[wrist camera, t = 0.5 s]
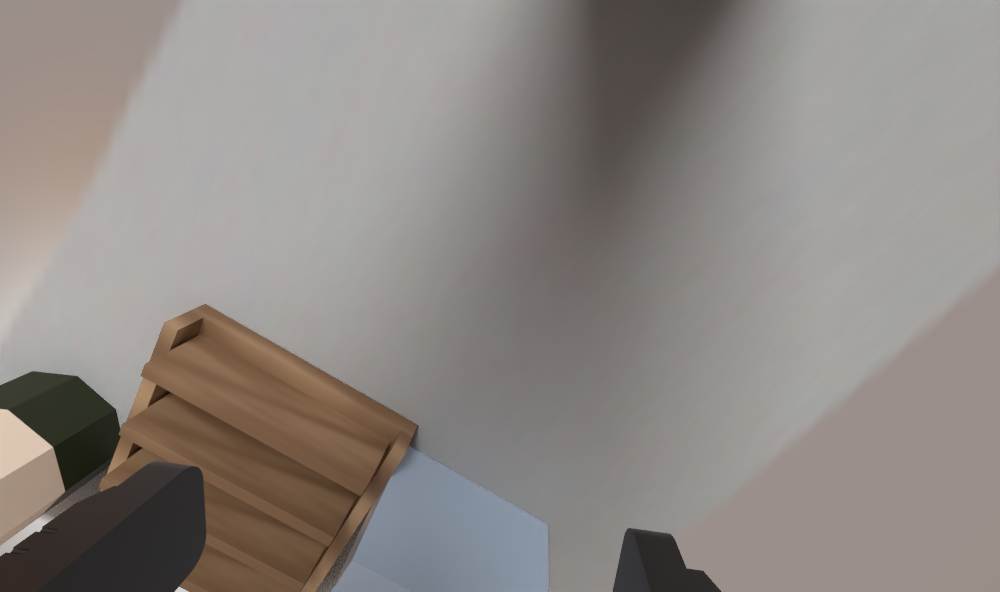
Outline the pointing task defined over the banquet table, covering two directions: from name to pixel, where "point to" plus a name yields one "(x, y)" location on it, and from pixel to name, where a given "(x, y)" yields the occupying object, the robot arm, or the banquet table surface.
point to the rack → (259, 451)
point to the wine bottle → (49, 444)
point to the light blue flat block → (444, 537)
